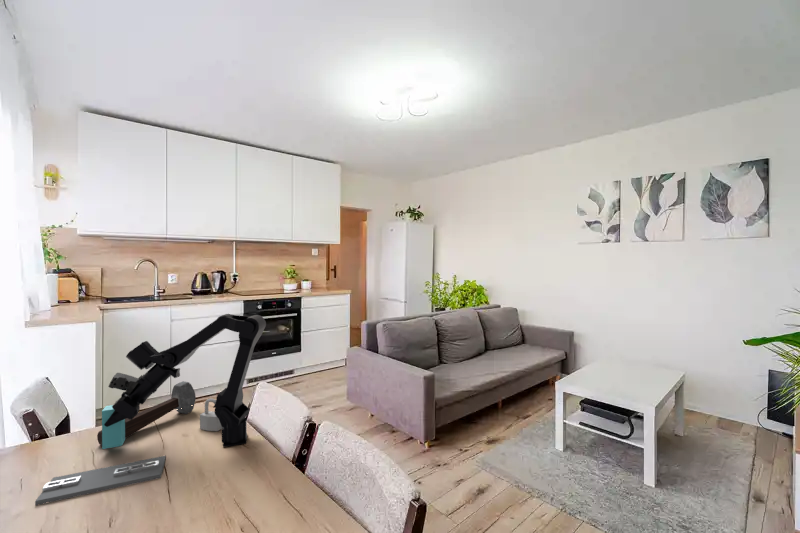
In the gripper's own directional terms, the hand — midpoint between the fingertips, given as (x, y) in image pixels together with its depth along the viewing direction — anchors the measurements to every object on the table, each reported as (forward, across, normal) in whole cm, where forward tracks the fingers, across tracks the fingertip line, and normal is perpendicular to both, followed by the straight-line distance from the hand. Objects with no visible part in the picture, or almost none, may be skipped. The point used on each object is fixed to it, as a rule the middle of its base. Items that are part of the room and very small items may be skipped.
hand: (107, 422), depth 106 cm
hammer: (0, -14, +12) cm, 19 cm away
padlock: (-13, -4, +25) cm, 28 cm away
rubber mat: (+3, +17, +9) cm, 19 cm away
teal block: (+4, 0, +6) cm, 7 cm away
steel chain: (+3, +17, +8) cm, 19 cm away
